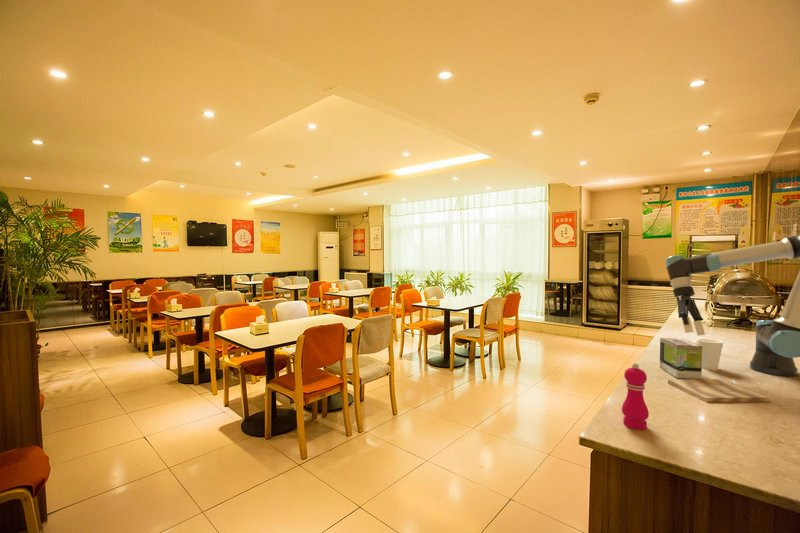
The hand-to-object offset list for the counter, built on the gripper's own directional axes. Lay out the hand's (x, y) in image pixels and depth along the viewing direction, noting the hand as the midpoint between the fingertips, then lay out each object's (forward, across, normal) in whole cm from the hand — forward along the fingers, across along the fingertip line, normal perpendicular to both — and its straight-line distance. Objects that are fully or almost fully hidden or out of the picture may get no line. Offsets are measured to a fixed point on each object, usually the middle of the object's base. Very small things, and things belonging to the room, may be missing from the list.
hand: (695, 333), depth 160 cm
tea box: (+17, -1, -10) cm, 19 cm away
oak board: (+24, +13, +5) cm, 28 cm away
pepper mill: (+35, +67, -3) cm, 75 cm away
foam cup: (+14, -20, -4) cm, 25 cm away
